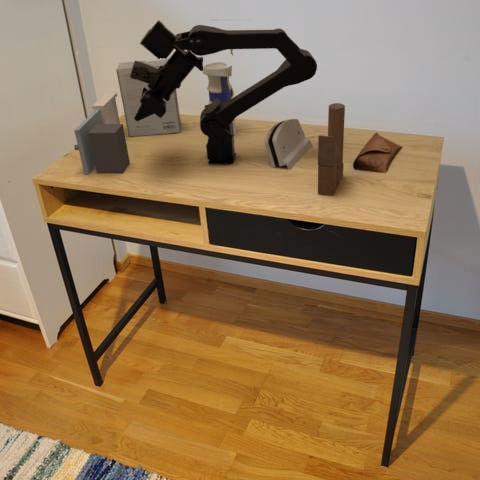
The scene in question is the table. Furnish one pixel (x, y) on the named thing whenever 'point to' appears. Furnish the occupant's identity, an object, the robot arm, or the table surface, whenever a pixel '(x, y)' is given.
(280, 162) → the hinge
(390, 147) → the sunglasses case
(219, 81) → the water bottle
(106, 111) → the wall frame
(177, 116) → the hard drive box
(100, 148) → the doorstop block
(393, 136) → the table surface
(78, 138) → the door
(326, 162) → the wooden block
